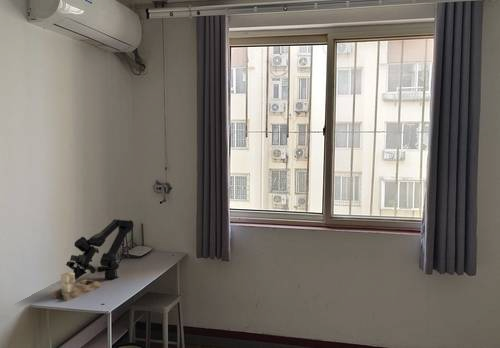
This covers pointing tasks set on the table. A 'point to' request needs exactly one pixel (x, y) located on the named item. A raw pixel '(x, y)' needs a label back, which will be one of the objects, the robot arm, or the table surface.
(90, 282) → the trap deck
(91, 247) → the robot arm
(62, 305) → the table surface
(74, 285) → the maple block
